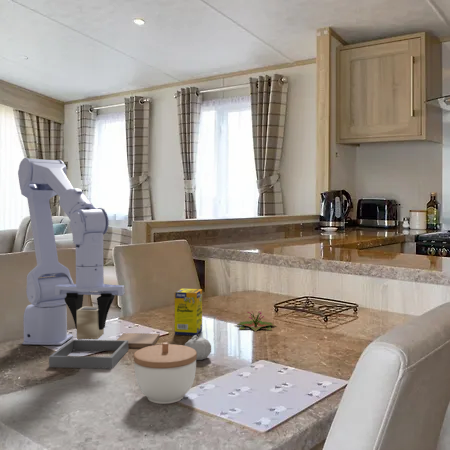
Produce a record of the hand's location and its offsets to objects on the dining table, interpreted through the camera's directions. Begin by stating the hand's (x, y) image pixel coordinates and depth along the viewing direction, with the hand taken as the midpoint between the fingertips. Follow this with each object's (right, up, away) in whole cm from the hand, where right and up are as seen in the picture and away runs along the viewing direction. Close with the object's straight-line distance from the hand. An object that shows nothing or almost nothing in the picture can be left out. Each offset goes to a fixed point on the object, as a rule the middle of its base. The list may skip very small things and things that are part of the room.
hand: (90, 328), depth 111 cm
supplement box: (+20, -6, +22) cm, 30 cm away
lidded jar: (+19, -8, -22) cm, 30 cm away
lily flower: (+37, -6, +29) cm, 47 cm away
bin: (0, -6, 0) cm, 7 cm away
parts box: (0, -2, 0) cm, 2 cm away
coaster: (+8, -6, +13) cm, 16 cm away
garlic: (+23, -7, 0) cm, 24 cm away
